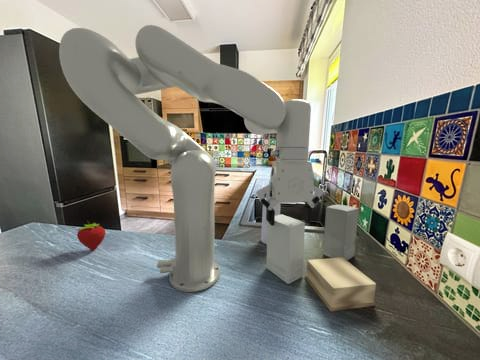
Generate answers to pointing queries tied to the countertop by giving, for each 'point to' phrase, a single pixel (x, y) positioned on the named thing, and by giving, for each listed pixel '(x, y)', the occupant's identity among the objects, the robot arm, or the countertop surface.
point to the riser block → (340, 284)
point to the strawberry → (91, 235)
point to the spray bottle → (264, 221)
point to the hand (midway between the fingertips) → (288, 222)
